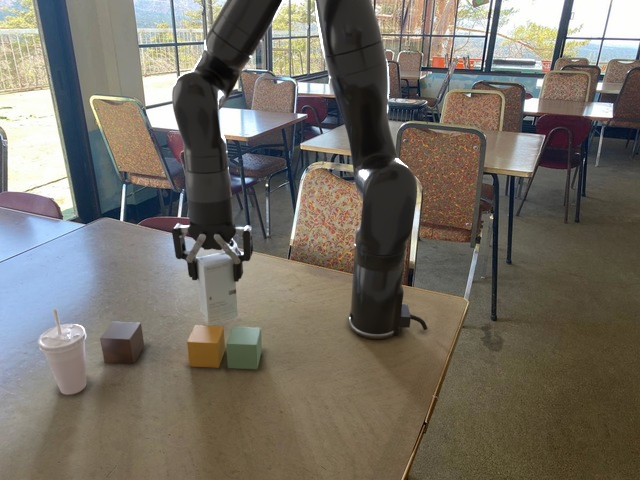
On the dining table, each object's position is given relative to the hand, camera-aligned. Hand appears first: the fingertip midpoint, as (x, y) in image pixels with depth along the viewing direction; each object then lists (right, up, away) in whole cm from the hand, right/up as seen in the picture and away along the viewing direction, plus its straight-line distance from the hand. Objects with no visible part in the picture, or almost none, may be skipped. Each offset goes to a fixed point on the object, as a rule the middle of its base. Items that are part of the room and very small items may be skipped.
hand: (216, 278), depth 88 cm
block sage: (+6, -14, -5) cm, 16 cm away
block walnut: (-15, -13, -5) cm, 20 cm away
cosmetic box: (0, -7, +3) cm, 8 cm away
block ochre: (0, -13, -5) cm, 14 cm away
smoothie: (-20, -16, -13) cm, 29 cm away
